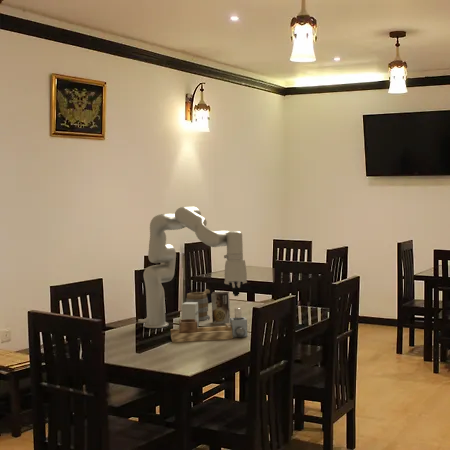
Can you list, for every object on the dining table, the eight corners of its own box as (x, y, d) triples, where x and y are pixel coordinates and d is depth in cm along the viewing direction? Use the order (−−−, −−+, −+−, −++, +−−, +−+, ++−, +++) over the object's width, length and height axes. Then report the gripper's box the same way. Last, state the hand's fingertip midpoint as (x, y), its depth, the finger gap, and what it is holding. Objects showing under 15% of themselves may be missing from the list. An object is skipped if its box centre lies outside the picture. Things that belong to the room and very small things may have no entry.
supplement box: (195, 329, 350) (194, 304, 350) (181, 328, 352) (180, 304, 351) (199, 326, 358) (198, 301, 357) (185, 326, 359) (184, 301, 359)
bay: (172, 342, 320) (171, 330, 320) (170, 336, 333) (170, 325, 333) (232, 338, 324) (232, 327, 323) (228, 333, 337) (228, 322, 336)
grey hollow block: (233, 338, 324) (233, 321, 323) (230, 334, 334) (230, 317, 333) (248, 337, 325) (247, 320, 324) (245, 333, 335) (244, 317, 334)
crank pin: (235, 325, 329) (235, 308, 328) (234, 324, 332) (234, 307, 331) (242, 325, 329) (241, 308, 329) (241, 324, 332) (240, 307, 332)
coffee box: (230, 321, 369) (229, 291, 368) (229, 323, 362) (228, 292, 362) (213, 321, 369) (212, 291, 369) (212, 324, 363) (211, 293, 362)
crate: (180, 338, 322) (180, 323, 322) (179, 334, 332) (178, 319, 331) (197, 337, 323) (197, 322, 323) (196, 333, 333) (195, 318, 332)
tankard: (200, 321, 371) (199, 293, 370) (181, 320, 377) (180, 292, 377) (220, 315, 388) (219, 288, 387) (201, 314, 394) (200, 287, 394)
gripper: (220, 258, 324) (221, 297, 325) (251, 257, 326) (253, 296, 327) (218, 257, 332) (219, 295, 333) (249, 256, 334) (250, 294, 335)
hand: (236, 295), depth 330 cm, fingers closed
